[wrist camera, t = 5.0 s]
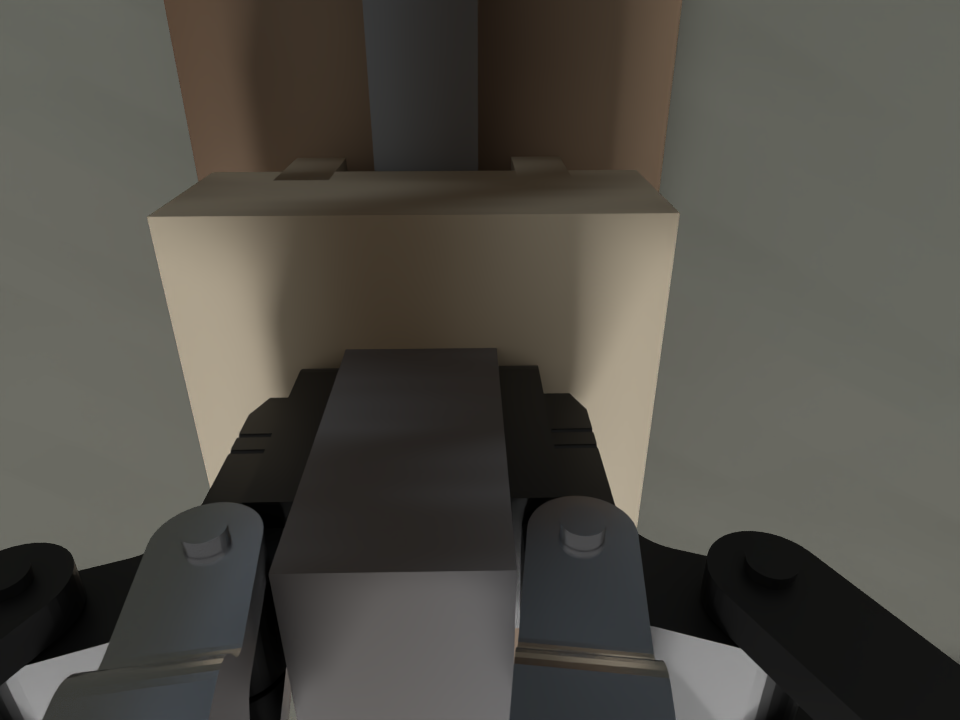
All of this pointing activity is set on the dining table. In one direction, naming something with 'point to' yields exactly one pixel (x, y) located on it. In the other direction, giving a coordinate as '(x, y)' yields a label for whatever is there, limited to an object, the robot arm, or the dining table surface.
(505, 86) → the rail
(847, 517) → the dining table surface
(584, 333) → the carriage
